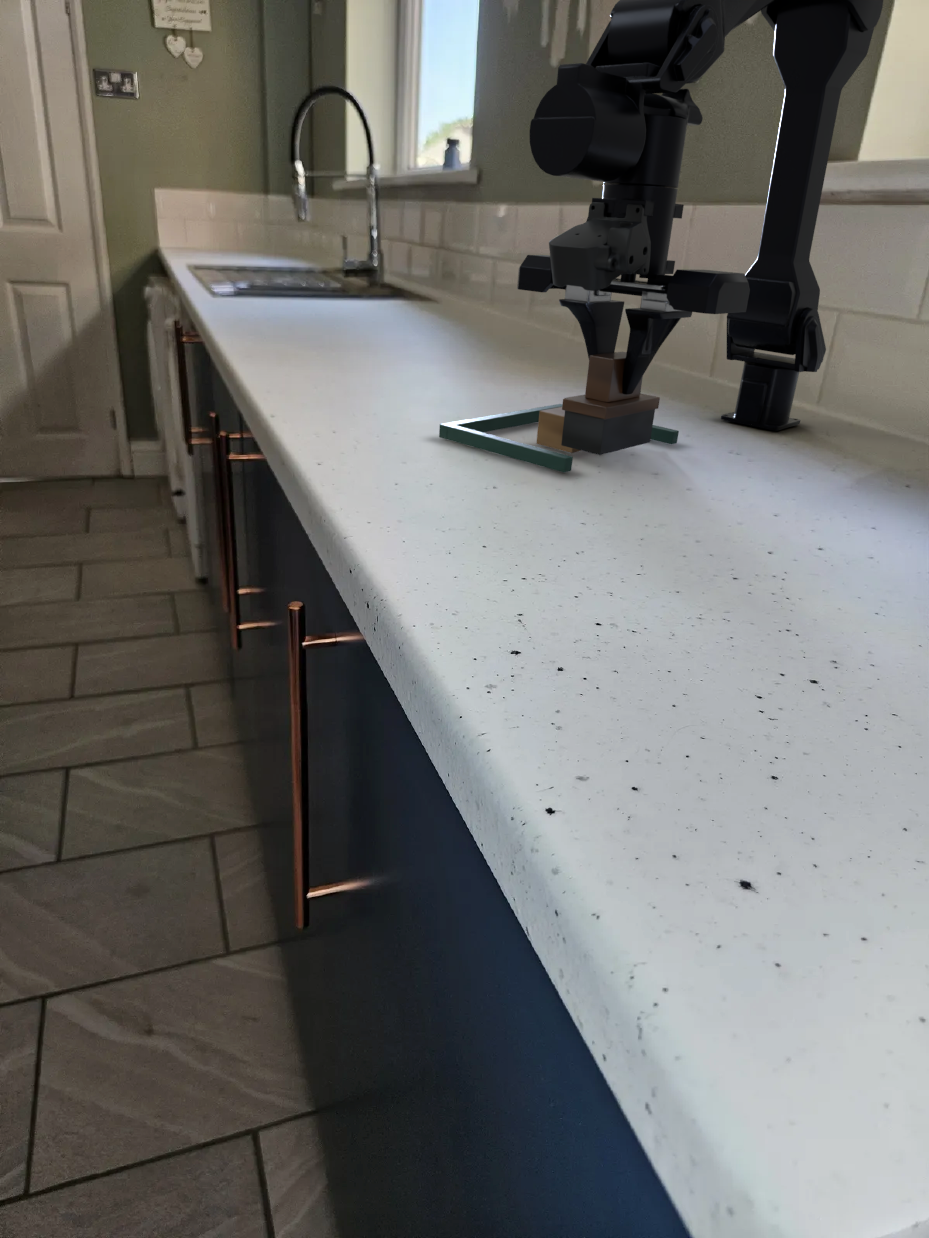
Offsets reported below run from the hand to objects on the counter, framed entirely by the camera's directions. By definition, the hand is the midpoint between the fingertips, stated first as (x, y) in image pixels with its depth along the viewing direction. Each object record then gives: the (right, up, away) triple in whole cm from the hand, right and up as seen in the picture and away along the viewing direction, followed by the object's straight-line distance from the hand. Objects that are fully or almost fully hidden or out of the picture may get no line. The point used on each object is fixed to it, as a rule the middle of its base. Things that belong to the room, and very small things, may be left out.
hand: (613, 391), depth 74 cm
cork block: (-3, -4, +4) cm, 7 cm away
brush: (0, -4, +2) cm, 4 cm away
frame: (-3, -3, +6) cm, 8 cm away
